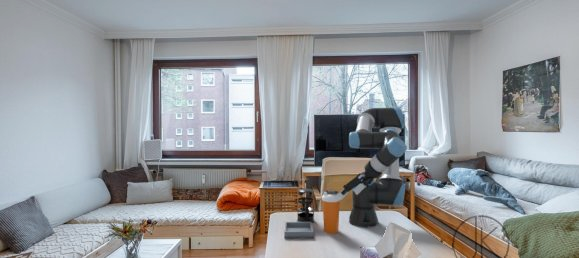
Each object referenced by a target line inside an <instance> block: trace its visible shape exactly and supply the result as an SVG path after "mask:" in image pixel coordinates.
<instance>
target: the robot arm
mask: <svg viewBox="0 0 579 258" xmlns="http://www.w3.org/2000/svg"><path fill="white" fill-rule="evenodd" d="M404 119H405V118H404V112H403V110H402V109H401V108H400V107H372V108H368V109H366V110H364V111H362V112H361V113H359V115H358V116H357V119H356V124H357V126H356V129H355V131H351V132H349V135H348V145H349V147H350V148H352V149H378V150H379V151H378V152H377V153H376V154H374V156H372V157H371V159H370V160H369V161H368V162H367V163H365V165H364V171H363V172H359V173H358V174H356V176H355V177H353V178H352V179H351V180H349V181H348V182H347V183H345V184H344V185H343V189H341V191H340V192H338V195H337V196H338V198H339V199H340V201H342V200H343V199H344V198H345V197H346V196H347V195H348V194H349V193H350V192H351V191H352V207H351V211H350V214H349V217H348V219H349V221H348V222H349V224H351V225H353V226H356V227H358V228H359V227H361V228H373V227H376V226H378V224H379V219H378V215H377V211H376V206H375V205H378V206H380V205H382V206H392V207H397V206H399V207H401V206H402V205H403V204H404V199H405V193H406V183H404V182H403V178H401V177H400V158H401V157H402V156H403V154H405V152H407V149H408V146H407V145H406V143H405V141H404V140H403V139H401V137H400V133H401V132H402V129H404V128H405V120H404ZM372 129H379V131H373V130H372ZM375 179H378V181H375Z"/></svg>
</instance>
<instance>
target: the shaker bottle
mask: <svg viewBox="0 0 579 258" xmlns="http://www.w3.org/2000/svg"><path fill="white" fill-rule="evenodd" d="M338 194H339V191H338V190H329V189H325V190H324V192H323V195H322V196H321V201H322V214H323V215H322V220H323V232H325V233H327V234H331V235H332V234H338V232H339V225H340V224H339V223H340V203H341V202H340V201H341V200H340V199H339V198H338V196H337V195H338Z"/></svg>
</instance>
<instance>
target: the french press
mask: <svg viewBox="0 0 579 258" xmlns="http://www.w3.org/2000/svg"><path fill="white" fill-rule="evenodd" d="M301 181H303V182H304V187H305V188H298V189H297V195H298V196H299V198H297V200H296V201H297V203H296V204H297V205H296V206H297V210H296V211H297V220H296V222H312V224H313V223H314V222H315V217H314V216H315V215H314V214H315V207H314V206H315V200H314V198H313V197H310V196H308V197H307V194H310V195H311V196H313V195H314V189H312V188H307V184H306V183H307V181H310V179H308V178H302V179H301ZM303 195H304V196H303ZM300 196H301V197H300ZM299 204H301V207H299ZM310 204H312V207H310V206H309V205H310Z"/></svg>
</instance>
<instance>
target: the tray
mask: <svg viewBox="0 0 579 258" xmlns="http://www.w3.org/2000/svg"><path fill="white" fill-rule="evenodd" d="M284 239H314V227H313V223H312V222H297V221H285V222H284Z"/></svg>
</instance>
